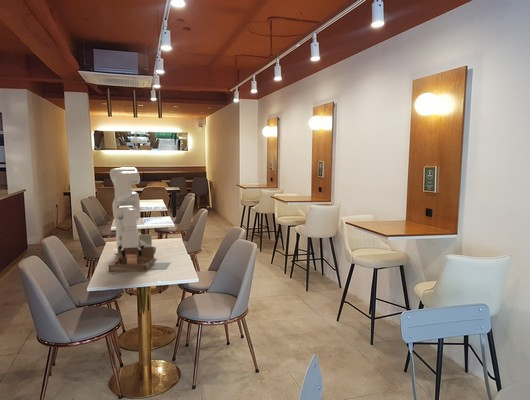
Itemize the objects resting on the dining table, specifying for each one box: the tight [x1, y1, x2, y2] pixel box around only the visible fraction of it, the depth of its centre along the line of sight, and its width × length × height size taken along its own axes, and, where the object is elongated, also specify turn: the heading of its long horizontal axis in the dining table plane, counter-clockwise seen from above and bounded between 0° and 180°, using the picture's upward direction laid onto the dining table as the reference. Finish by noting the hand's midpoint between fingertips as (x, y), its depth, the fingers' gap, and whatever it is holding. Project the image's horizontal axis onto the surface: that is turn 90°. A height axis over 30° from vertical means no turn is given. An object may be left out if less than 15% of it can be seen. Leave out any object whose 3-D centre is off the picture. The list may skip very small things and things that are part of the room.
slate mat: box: [148, 262, 172, 271], centre depth 243 cm, size 14×10×1 cm
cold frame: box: [107, 234, 155, 273], centre depth 241 cm, size 19×22×18 cm
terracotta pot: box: [126, 253, 138, 264], centre depth 242 cm, size 7×7×8 cm
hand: (132, 256), depth 241 cm, fingers open, 9 cm apart
